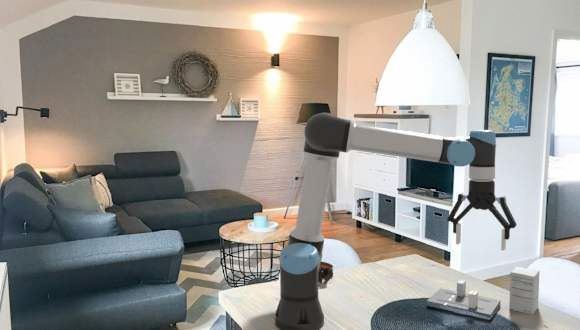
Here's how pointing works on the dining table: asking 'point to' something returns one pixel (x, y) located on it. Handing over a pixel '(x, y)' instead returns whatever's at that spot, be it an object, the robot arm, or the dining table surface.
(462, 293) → the block
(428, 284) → the dining table surface
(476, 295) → the fader near
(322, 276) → the pottery mug
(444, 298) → the plate
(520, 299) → the supplement box
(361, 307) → the dining table surface
